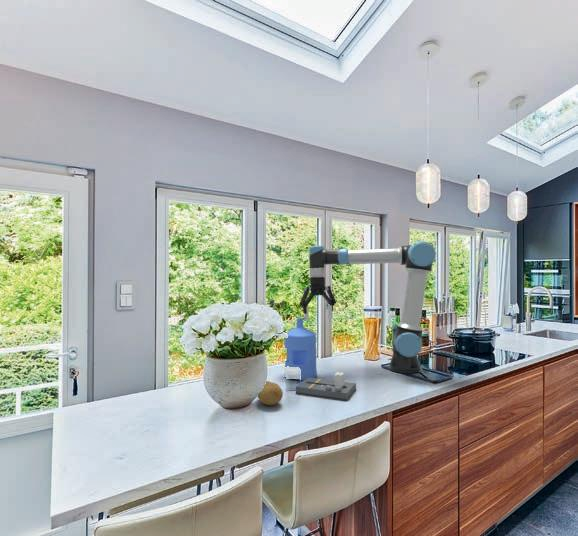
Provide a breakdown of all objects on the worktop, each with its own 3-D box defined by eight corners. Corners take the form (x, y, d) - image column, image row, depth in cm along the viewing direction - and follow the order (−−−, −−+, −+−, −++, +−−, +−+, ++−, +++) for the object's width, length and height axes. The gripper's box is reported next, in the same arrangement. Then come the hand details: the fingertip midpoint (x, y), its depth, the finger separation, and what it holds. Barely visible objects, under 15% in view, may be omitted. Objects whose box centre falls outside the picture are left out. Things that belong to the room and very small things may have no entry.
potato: (273, 396, 149) (273, 376, 149) (288, 407, 136) (288, 386, 136) (251, 400, 144) (250, 380, 145) (264, 412, 132) (264, 390, 132)
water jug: (300, 369, 187) (299, 316, 187) (323, 375, 176) (322, 318, 176) (278, 376, 176) (277, 319, 176) (301, 383, 165) (300, 322, 165)
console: (356, 390, 154) (355, 379, 154) (346, 401, 142) (346, 389, 142) (308, 384, 164) (308, 374, 164) (295, 393, 151) (295, 383, 151)
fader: (344, 390, 151) (344, 372, 151) (341, 393, 148) (341, 375, 148) (337, 389, 153) (337, 371, 153) (334, 392, 149) (334, 374, 149)
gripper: (334, 275, 189) (335, 316, 189) (291, 277, 178) (292, 320, 178) (342, 275, 182) (343, 317, 182) (298, 277, 171) (300, 322, 171)
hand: (318, 319), depth 180 cm, fingers open, 13 cm apart
